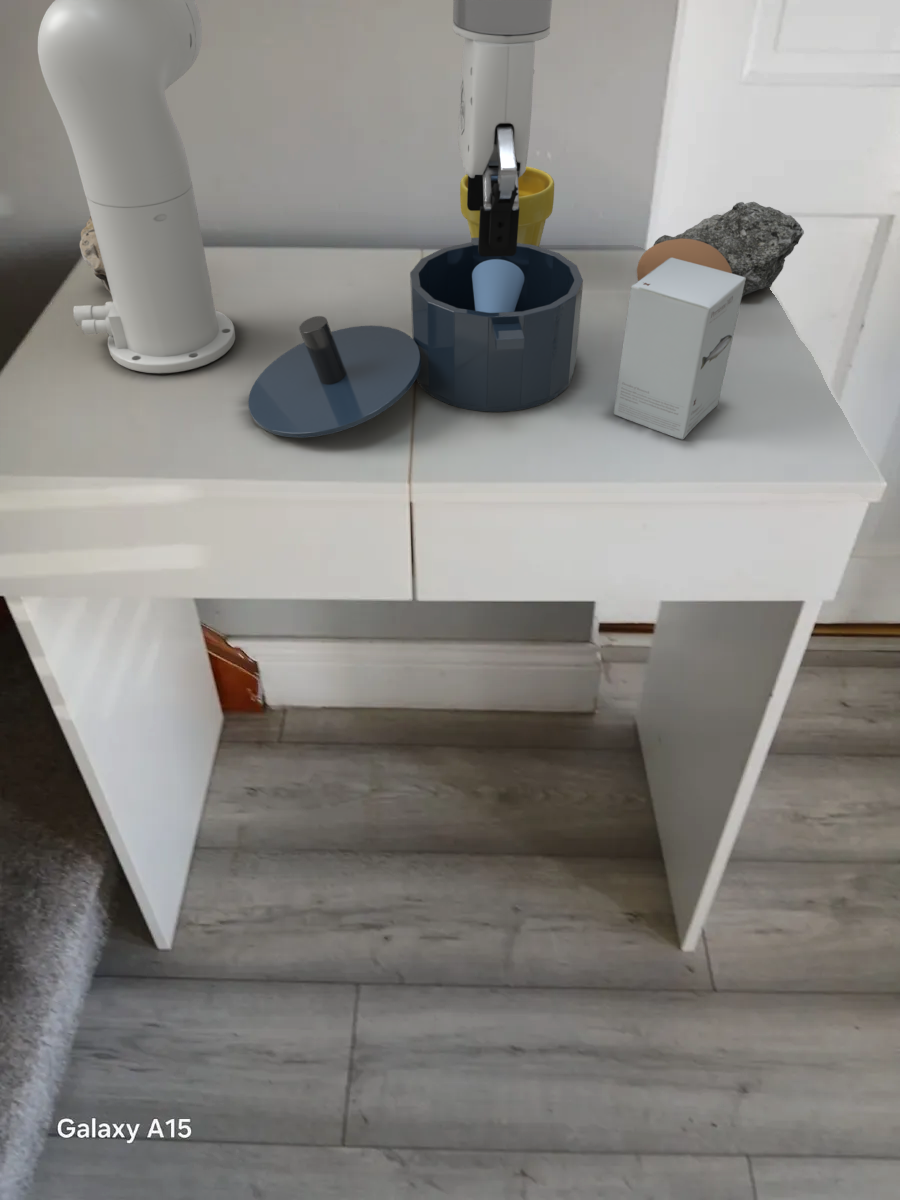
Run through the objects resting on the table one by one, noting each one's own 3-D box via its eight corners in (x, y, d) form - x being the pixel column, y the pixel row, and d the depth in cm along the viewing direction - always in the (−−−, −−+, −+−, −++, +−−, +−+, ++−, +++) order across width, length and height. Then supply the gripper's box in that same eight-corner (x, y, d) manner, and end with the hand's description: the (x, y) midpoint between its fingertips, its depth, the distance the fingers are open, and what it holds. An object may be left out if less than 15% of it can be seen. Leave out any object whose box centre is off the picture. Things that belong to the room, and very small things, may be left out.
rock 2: (635, 257, 107) (663, 270, 116) (720, 329, 104) (742, 337, 112) (715, 152, 101) (738, 175, 110) (807, 226, 98) (823, 243, 107)
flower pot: (446, 256, 114) (446, 170, 107) (526, 242, 116) (531, 158, 110) (480, 292, 107) (481, 203, 100) (564, 277, 109) (571, 189, 103)
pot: (420, 432, 86) (417, 335, 80) (408, 322, 102) (405, 233, 95) (592, 423, 87) (603, 327, 81) (554, 315, 103) (561, 227, 96)
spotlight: (472, 345, 97) (464, 381, 92) (473, 248, 90) (465, 281, 85) (521, 348, 96) (516, 384, 91) (526, 251, 90) (521, 283, 85)
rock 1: (137, 242, 113) (64, 210, 105) (181, 224, 109) (109, 189, 101) (140, 315, 113) (67, 289, 104) (184, 299, 109) (112, 271, 100)
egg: (757, 248, 98) (668, 222, 104) (716, 260, 93) (626, 232, 99) (738, 321, 102) (654, 292, 108) (699, 336, 98) (613, 305, 104)
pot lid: (250, 463, 84) (219, 401, 80) (254, 364, 96) (228, 305, 91) (432, 411, 83) (411, 345, 78) (414, 317, 94) (395, 255, 90)
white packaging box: (683, 442, 85) (709, 308, 76) (610, 415, 88) (627, 283, 80) (720, 406, 89) (749, 275, 81) (649, 381, 93) (669, 253, 84)
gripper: (444, -17, 79) (440, 194, 91) (464, 39, 67) (456, 275, 79) (534, -16, 80) (519, 193, 92) (570, 40, 68) (547, 273, 79)
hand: (490, 231), depth 85 cm, fingers open, 9 cm apart
